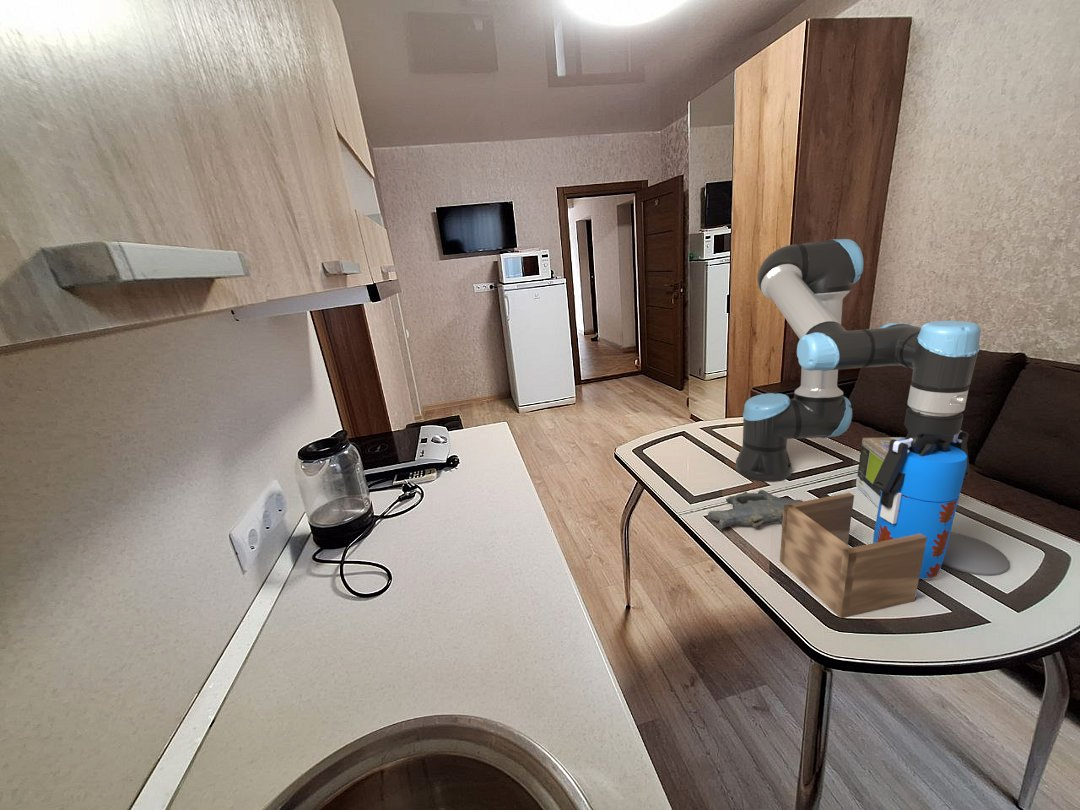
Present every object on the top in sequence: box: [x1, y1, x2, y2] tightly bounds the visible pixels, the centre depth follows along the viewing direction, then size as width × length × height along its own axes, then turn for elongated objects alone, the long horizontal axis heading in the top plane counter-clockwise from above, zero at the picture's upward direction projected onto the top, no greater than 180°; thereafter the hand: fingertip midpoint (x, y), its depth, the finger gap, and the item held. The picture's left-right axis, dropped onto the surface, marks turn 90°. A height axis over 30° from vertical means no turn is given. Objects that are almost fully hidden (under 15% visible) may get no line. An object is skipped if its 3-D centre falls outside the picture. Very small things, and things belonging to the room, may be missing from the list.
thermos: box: [872, 439, 967, 580], centre depth 81 cm, size 11×11×25 cm
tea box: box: [855, 436, 906, 508], centre depth 104 cm, size 15×10×15 cm, turn 169°
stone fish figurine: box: [707, 489, 804, 529], centre depth 107 cm, size 5×25×15 cm
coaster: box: [942, 531, 1010, 577], centre depth 86 cm, size 13×13×1 cm
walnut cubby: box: [779, 492, 927, 619], centre depth 81 cm, size 16×15×14 cm
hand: (914, 514), depth 81 cm, fingers closed on thermos, 11 cm apart
